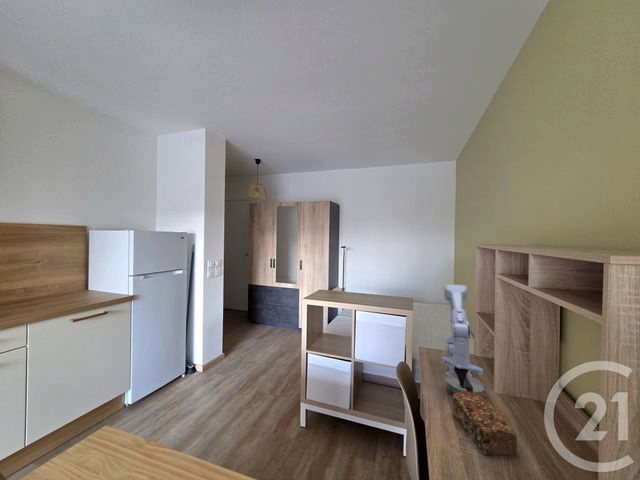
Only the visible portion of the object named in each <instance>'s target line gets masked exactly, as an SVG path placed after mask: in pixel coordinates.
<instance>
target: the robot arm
mask: <svg viewBox="0 0 640 480" xmlns="http://www.w3.org/2000/svg"><path fill="white" fill-rule="evenodd" d="M443 294H444V295H443V297H444V300H445V301H447V302H448V303H449V306H450V307H449V308H450V328H451V329H450V331H451V332H450V334H451V335H449V336H448V337H446V338H445V345H444V346H445V355H446V356H443V357H442V361H441V362H442V363H443V364H448V371H446V372H444V374H445V375H446V376H447V375H448V374H451V373H456V374H457V377H458V379H459V382H460V386H461V387H463V385H464V380H465V377H466V375H470V376H472V377H473V375H472V374H471V372H473V373H476V374H478V375H480V376H483V374H484V368H482V367H479V366H477V365H475V364H472V363H470V362H471V360H470V359H471V358H470V357H471V356H470V339H471V337H472V336H471V335H472V332H471V331H472V329H471V326H470V323H469V321H468V316H467V312H466V310H465V309H463V303H465V302H466V300H467V297H468V287H467V285H466V284H450V283H449V284H448V283H444V285H443ZM447 356H448V357H447Z"/></svg>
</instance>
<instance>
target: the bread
mask: <svg viewBox="0 0 640 480" xmlns="http://www.w3.org/2000/svg"><path fill="white" fill-rule="evenodd" d="M451 402H452V404H451V405H452V410H453V414H454V417H455V418H456V419H457V420H458V421H459V423H460V425H461V426H462V428H463V429H464V430H465V432H467V434H468V436H469V437H470V438H471V439H472V441H473V442H474V443H475V444H476V446H478V447H479V449H480V450H481V452H482V454H484V455H487V456H492V457H495V456H497V455H502V456H503V455H504V456H508V457H509V456H516V454H517V450H518V444H517V443H518V442H517V440H518V438H517V437H518V436H517V434H516V432H515V430H514V428H513V427H512V425H511V424H510V423H509V421H508V420H506V418H505V417H504V415H503V414H501V413H500V412H499V410H497V409H496V408H495V407H494V406H493V405H492V404H491V403H490V402H489V401H487V400H485V399H484V397H483V398H482V397H481V396H479V395H478V394H476V393H473V392H471V391H470V392H468V391H457V392H456V393H454V394H453V396H452V398H451Z"/></svg>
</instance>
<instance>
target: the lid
mask: <svg viewBox="0 0 640 480" xmlns="http://www.w3.org/2000/svg"><path fill="white" fill-rule="evenodd" d="M445 380H446V381H445V382H446V384H447V383H448V384H449V385H450V386H452V387H453V388H455V389H457V390H460V391H468V392H470V391H471V392H473V393H479V392H482V391H483V392H484V390H485V387H484V383H483V382H482V381H481V380H480V379H478V378H476V377H474V376H473V375H472V376H470V375H466V377H465V380H464V385H463V387H461V386H460V382H459V379H458V377H457V374H456V373H451V374H448V375H446V376H445ZM483 392H482V393H483Z"/></svg>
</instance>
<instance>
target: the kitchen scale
mask: <svg viewBox="0 0 640 480" xmlns="http://www.w3.org/2000/svg"><path fill="white" fill-rule="evenodd" d="M446 384H447V385H446V386H447V387H446V388H447V392H448V393H449V394H450V395H449V396H452V397H453V394H454V393H456V392H457V391H460V390H457V389H455V388H453V387H452V386H450V385H449V384H448V383H447V382H446ZM483 392H484V390H483V391H482V392H479V393H476V394H478V395H479V396H481V397H482V398H483V399H484V397H483V395H484V394H483Z"/></svg>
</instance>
